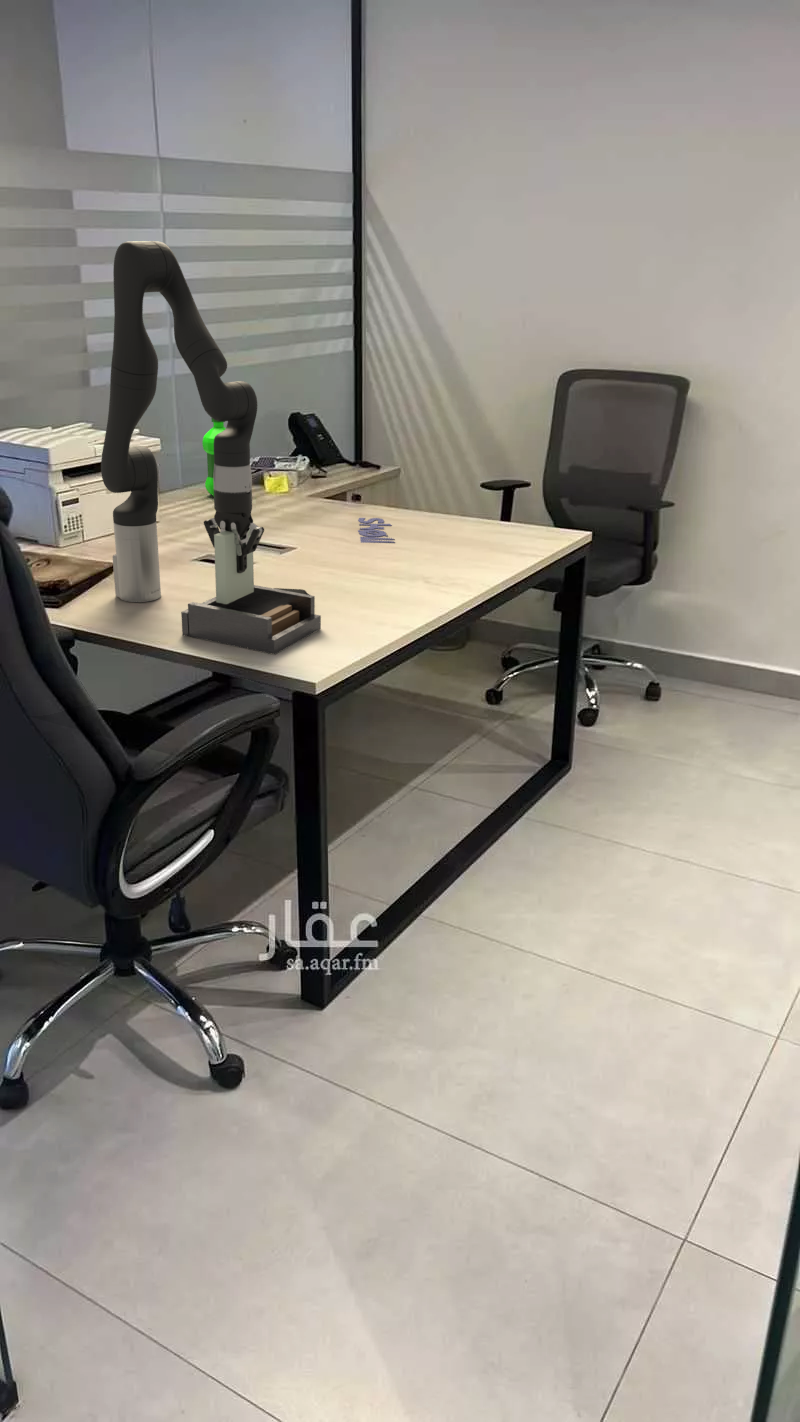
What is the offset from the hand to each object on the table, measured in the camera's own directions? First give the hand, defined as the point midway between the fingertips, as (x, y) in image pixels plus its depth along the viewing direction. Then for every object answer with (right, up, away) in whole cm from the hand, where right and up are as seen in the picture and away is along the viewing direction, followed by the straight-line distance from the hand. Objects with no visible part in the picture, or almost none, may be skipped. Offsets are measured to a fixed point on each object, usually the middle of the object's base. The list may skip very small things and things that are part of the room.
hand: (234, 570), depth 219 cm
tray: (+3, -12, +3) cm, 13 cm away
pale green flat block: (0, -5, +2) cm, 6 cm away
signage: (+27, +22, +87) cm, 94 cm away
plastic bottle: (-23, +40, +122) cm, 130 cm away
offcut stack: (+8, -14, +1) cm, 16 cm away
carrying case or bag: (+9, -6, +19) cm, 22 cm away
